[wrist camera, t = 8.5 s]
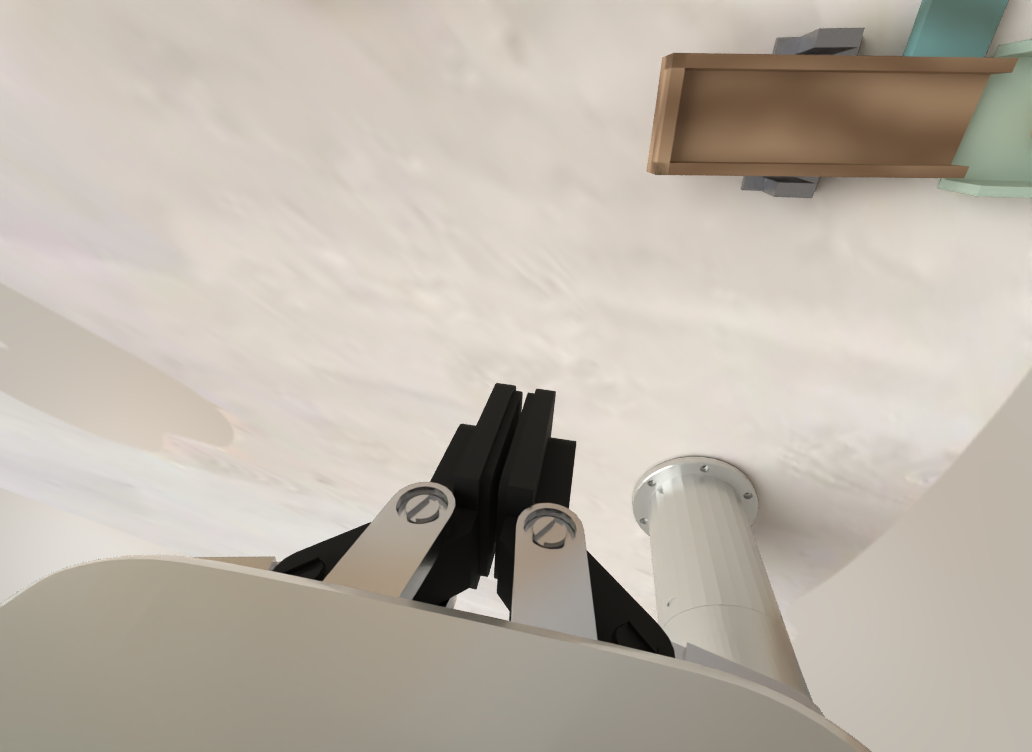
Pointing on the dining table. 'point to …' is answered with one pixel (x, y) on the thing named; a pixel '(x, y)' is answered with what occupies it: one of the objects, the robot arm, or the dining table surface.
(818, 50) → the fulcrum
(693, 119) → the lever
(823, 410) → the dining table surface
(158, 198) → the dining table surface
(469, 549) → the robot arm
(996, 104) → the tray
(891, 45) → the dining table surface
